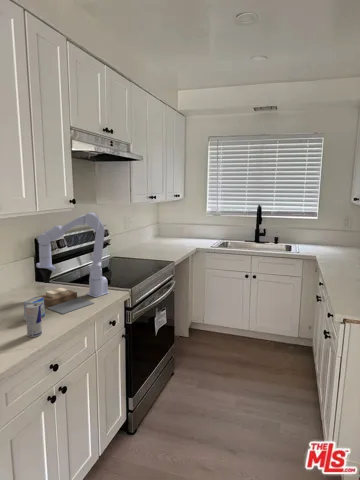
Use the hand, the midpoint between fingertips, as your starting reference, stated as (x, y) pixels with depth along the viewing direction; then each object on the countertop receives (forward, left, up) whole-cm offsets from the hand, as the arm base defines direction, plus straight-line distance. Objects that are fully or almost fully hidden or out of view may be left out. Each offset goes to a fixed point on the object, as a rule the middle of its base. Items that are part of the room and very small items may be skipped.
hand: (46, 282), depth 172 cm
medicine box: (+19, +20, -8) cm, 29 cm away
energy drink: (+28, +35, -8) cm, 46 cm away
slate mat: (0, +20, -8) cm, 22 cm away
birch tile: (0, +9, -5) cm, 10 cm away
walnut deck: (0, +9, -8) cm, 12 cm away
